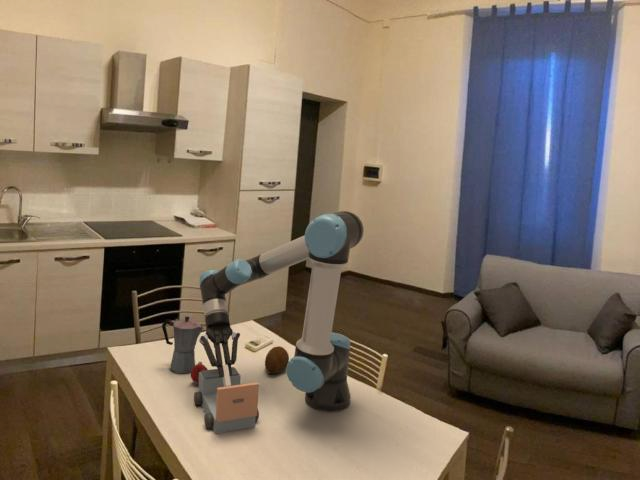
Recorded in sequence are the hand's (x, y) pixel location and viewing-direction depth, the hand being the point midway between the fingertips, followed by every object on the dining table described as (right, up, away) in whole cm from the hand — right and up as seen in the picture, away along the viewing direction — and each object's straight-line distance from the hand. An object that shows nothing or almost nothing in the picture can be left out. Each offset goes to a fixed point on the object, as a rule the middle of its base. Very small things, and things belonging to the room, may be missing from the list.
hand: (227, 387), depth 161 cm
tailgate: (+3, -7, -5) cm, 10 cm away
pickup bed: (-2, -9, +5) cm, 11 cm away
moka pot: (-22, -3, +32) cm, 39 cm away
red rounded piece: (-14, -5, +22) cm, 27 cm away
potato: (+11, -4, +37) cm, 39 cm away
